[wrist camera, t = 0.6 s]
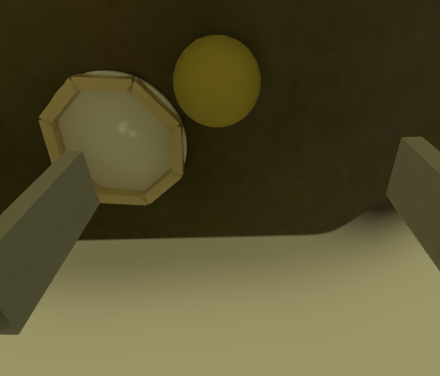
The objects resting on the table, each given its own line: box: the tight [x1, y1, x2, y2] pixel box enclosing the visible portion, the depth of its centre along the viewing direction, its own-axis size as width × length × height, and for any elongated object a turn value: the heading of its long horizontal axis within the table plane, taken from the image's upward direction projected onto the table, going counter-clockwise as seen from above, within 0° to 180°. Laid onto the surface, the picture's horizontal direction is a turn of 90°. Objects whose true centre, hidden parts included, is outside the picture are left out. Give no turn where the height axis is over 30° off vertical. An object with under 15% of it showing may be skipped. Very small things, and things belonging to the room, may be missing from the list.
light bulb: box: [173, 35, 261, 127], centre depth 25 cm, size 7×7×10 cm
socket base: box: [39, 70, 187, 205], centre depth 33 cm, size 15×15×2 cm
